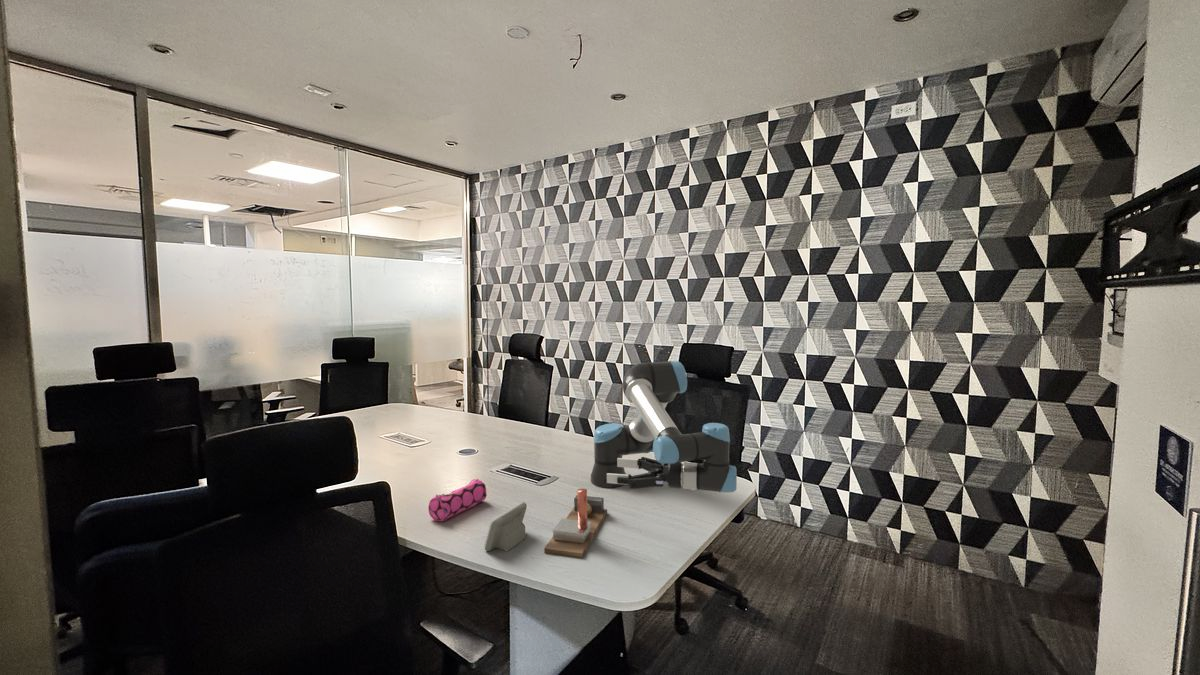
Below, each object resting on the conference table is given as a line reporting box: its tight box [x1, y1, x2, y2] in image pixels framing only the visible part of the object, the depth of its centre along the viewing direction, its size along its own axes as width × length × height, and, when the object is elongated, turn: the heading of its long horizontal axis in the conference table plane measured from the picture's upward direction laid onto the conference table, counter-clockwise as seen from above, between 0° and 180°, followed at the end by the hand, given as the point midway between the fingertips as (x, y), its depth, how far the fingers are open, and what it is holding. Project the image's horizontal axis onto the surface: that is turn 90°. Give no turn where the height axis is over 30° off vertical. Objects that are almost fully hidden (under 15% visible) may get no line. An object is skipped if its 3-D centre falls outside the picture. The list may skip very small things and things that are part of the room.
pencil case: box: [428, 478, 488, 522], centre depth 174 cm, size 21×10×10 cm, turn 150°
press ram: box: [552, 488, 591, 543], centre depth 151 cm, size 8×10×15 cm
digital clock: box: [484, 501, 527, 552], centre depth 151 cm, size 16×9×11 cm, turn 139°
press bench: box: [543, 495, 608, 559], centre depth 157 cm, size 30×12×6 cm, turn 165°
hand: (612, 469), depth 146 cm, fingers open, 13 cm apart
